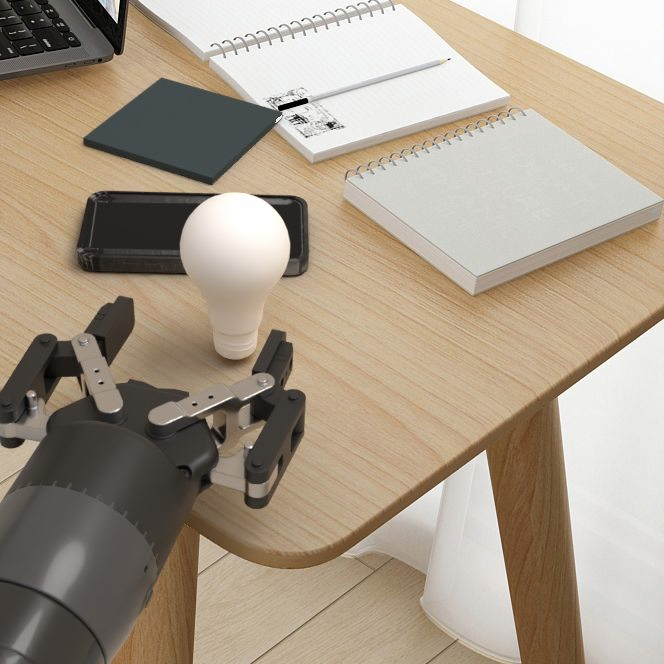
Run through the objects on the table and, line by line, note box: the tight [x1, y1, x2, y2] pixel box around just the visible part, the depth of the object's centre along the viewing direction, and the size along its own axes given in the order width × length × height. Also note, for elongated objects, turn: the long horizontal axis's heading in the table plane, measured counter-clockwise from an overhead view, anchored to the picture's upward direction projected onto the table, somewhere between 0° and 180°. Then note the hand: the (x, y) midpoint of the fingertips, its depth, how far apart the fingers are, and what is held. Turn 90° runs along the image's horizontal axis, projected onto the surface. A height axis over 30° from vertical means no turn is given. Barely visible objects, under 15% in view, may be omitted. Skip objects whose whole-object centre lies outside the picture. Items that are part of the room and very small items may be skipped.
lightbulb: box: [180, 191, 290, 360], centre depth 68 cm, size 6×6×11 cm
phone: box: [76, 190, 310, 276], centre depth 80 cm, size 8×1×15 cm
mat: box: [82, 77, 283, 185], centre depth 91 cm, size 11×11×1 cm
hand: (202, 325), depth 64 cm, fingers open, 8 cm apart
